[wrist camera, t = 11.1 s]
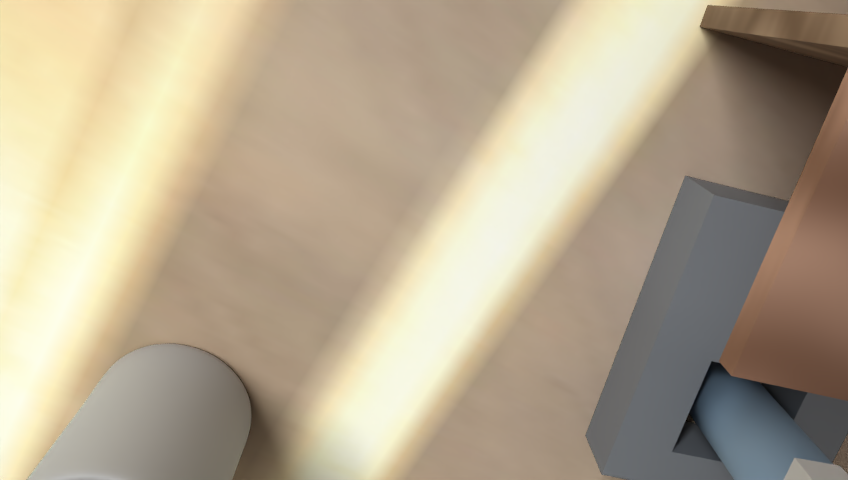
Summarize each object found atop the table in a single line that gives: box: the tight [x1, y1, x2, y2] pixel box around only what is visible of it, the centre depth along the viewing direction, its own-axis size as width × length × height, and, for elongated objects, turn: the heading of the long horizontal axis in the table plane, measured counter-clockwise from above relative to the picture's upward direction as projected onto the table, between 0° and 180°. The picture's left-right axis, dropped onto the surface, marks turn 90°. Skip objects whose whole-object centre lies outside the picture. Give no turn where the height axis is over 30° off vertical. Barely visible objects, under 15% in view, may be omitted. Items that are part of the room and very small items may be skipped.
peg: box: [689, 361, 834, 480], centre depth 35 cm, size 4×4×12 cm
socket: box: [586, 176, 848, 480], centre depth 38 cm, size 16×12×4 cm
